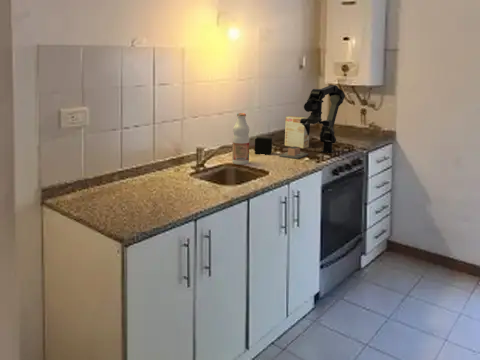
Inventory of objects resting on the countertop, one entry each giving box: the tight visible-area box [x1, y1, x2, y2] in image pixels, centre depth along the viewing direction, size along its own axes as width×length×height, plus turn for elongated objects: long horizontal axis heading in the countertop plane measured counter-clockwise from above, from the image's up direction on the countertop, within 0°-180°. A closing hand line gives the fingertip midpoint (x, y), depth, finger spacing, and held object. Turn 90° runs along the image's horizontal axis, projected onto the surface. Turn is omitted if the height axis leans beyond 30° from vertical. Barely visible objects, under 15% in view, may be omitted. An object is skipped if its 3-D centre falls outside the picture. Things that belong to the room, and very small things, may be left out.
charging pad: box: [278, 151, 309, 160], centre depth 322 cm, size 15×12×1 cm
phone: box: [287, 146, 301, 156], centre depth 322 cm, size 8×4×4 cm, turn 149°
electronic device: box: [254, 136, 273, 156], centre depth 325 cm, size 4×10×10 cm, turn 78°
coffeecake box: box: [284, 115, 310, 149], centre depth 350 cm, size 15×7×20 cm, turn 51°
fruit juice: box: [231, 112, 250, 165], centre depth 297 cm, size 9×9×28 cm
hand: (315, 136), depth 321 cm, fingers open, 9 cm apart
